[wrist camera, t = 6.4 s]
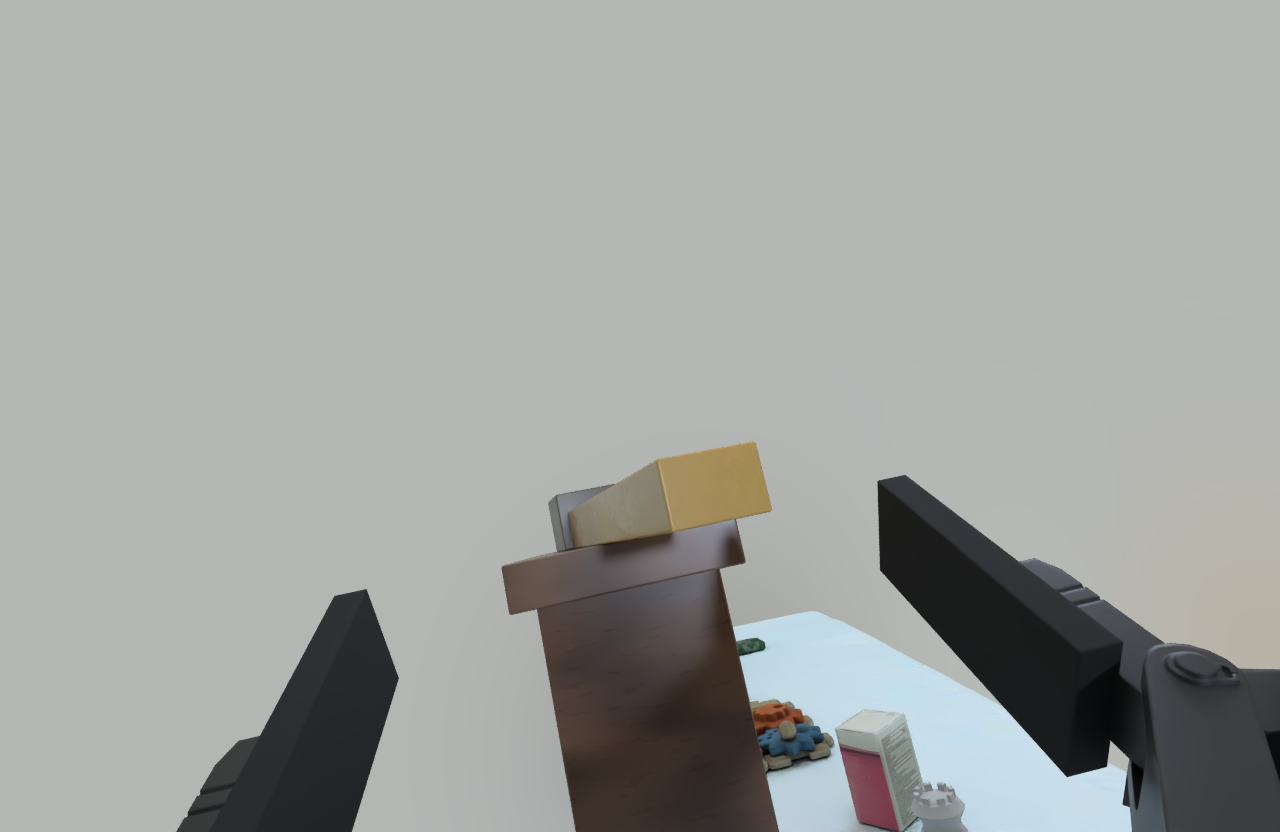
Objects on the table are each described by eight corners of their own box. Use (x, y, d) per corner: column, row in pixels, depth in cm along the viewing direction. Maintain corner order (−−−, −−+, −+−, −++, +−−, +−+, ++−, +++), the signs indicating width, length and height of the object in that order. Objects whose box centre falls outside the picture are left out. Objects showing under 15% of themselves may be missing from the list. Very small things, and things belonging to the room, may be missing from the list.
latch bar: (653, 536, 16) (630, 426, 17) (557, 551, 37) (547, 502, 38) (789, 507, 18) (763, 403, 18) (621, 538, 38) (612, 489, 39)
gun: (753, 634, 136) (765, 641, 126) (754, 641, 136) (767, 649, 126) (680, 652, 134) (686, 660, 124) (681, 659, 134) (688, 668, 124)
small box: (886, 797, 58) (863, 707, 59) (931, 807, 55) (905, 711, 56) (856, 823, 55) (832, 727, 56) (901, 834, 51) (875, 732, 53)
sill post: (641, 1408, 21) (500, 566, 26) (628, 1064, 35) (538, 555, 40) (922, 1313, 22) (735, 515, 27) (801, 1014, 36) (692, 522, 41)
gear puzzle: (670, 712, 98) (665, 685, 98) (770, 688, 99) (763, 661, 100) (703, 791, 67) (695, 751, 68) (846, 754, 69) (836, 715, 70)
